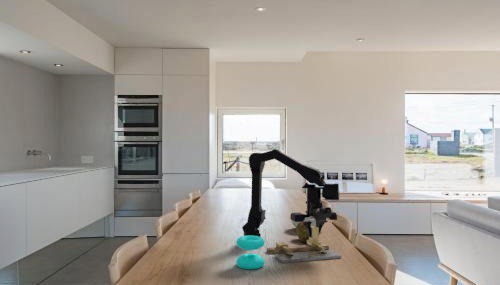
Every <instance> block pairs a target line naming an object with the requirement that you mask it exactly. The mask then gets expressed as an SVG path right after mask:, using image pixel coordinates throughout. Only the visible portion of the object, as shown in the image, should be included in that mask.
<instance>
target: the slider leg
mask: <svg viewBox="0 0 500 285" xmlns="http://www.w3.org/2000/svg"><path fill="white" fill-rule="evenodd" d="M319 237H320V234H319V227H317V226H311V238H310V237H309V240H307V243H306V245H310V246H311V247H316V248H318V249H320V250H319V251H322V252H325V250H326V249H325V248H324V247H322V246H321V244H322V243H321V241H319V239H320V238H319Z"/></svg>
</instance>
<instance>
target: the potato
mask: <svg viewBox="0 0 500 285" xmlns="http://www.w3.org/2000/svg"><path fill="white" fill-rule="evenodd" d="M295 232H296V234H297V237H298V240H300V242H303V243H306V244H307V240H309V235H308V233H307V230H306V228H305V226H304V224H303V222H300V223H298V225H297V227H295Z"/></svg>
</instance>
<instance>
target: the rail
mask: <svg viewBox="0 0 500 285" xmlns="http://www.w3.org/2000/svg"><path fill="white" fill-rule="evenodd" d="M321 246H322V247H324V248H325V250H330V246H329V245H328V244H327V243H321ZM311 251H321V250H320V249H318V248H316V247H311V246H310V245H308V244H305V245H304V244H303V245H302V244H301V245H292V246H290V245H289V244H288V243H287V242H285V241H279V242H278V241H276V242H275V246H273V247H266V252H267V253H268V254H269V255H271V254H285V253H289V255H291V253H298V252H311Z"/></svg>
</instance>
